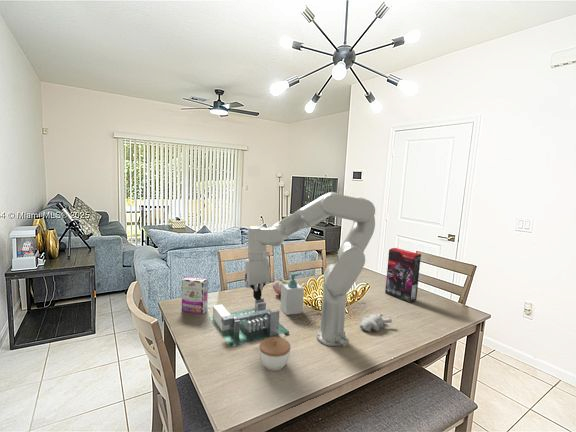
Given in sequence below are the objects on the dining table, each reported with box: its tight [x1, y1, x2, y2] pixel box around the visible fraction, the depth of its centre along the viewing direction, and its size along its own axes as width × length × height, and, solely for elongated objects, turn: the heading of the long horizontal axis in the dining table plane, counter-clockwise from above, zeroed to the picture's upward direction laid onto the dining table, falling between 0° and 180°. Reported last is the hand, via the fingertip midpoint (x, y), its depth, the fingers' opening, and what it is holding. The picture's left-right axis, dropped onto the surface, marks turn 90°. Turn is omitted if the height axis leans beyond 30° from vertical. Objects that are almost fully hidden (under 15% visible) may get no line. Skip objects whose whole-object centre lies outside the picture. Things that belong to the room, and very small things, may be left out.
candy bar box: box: [181, 276, 209, 315], centre depth 143 cm, size 11×5×16 cm, turn 76°
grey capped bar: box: [221, 308, 272, 326], centre depth 126 cm, size 4×22×2 cm, turn 121°
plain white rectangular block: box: [212, 304, 231, 331], centre depth 132 cm, size 12×4×6 cm, turn 31°
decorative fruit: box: [272, 277, 289, 296], centre depth 169 cm, size 9×8×10 cm
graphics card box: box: [384, 247, 422, 303], centre depth 174 cm, size 17×7×27 cm, turn 37°
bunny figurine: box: [359, 312, 393, 333], centre depth 138 cm, size 10×5×15 cm
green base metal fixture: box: [209, 297, 290, 348], centre depth 132 cm, size 27×26×11 cm
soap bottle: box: [279, 272, 305, 316], centre depth 150 cm, size 9×9×19 cm
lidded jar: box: [259, 336, 291, 372], centre depth 106 cm, size 11×11×9 cm
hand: (257, 298), depth 127 cm, fingers closed
